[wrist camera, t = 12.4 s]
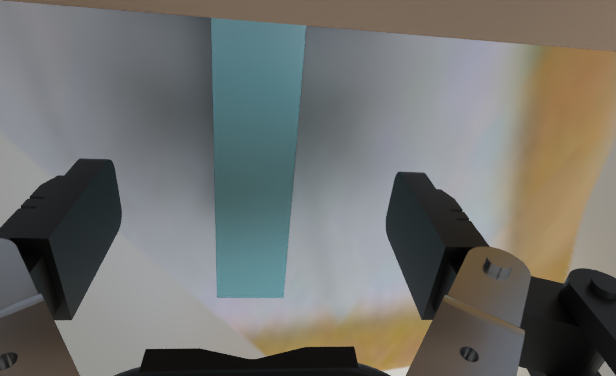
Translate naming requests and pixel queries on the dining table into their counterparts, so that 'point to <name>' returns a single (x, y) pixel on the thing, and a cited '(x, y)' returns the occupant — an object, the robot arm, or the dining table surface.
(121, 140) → the dining table surface
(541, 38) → the walnut shelf
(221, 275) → the panel
